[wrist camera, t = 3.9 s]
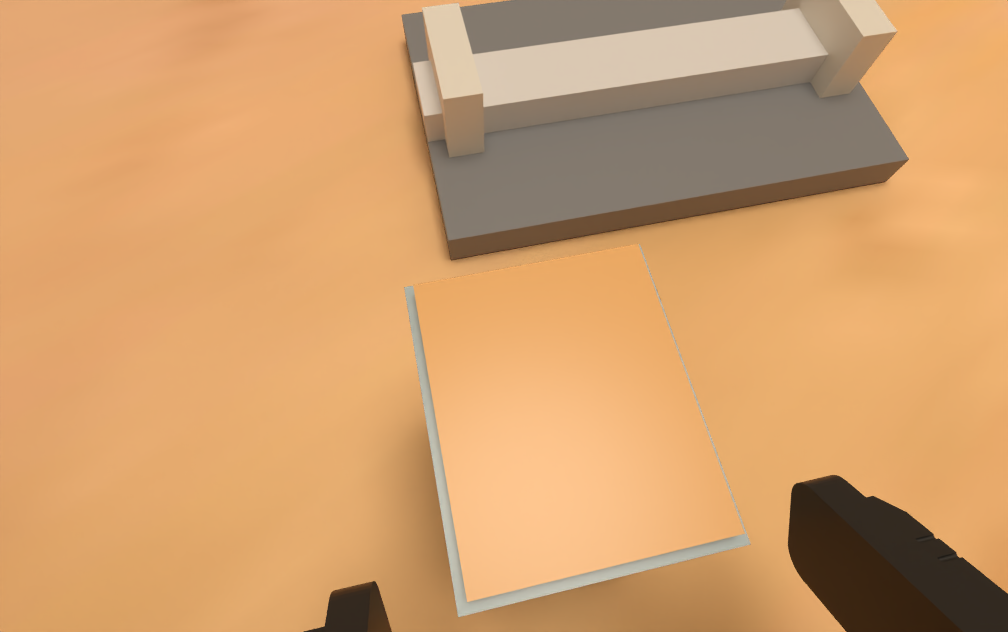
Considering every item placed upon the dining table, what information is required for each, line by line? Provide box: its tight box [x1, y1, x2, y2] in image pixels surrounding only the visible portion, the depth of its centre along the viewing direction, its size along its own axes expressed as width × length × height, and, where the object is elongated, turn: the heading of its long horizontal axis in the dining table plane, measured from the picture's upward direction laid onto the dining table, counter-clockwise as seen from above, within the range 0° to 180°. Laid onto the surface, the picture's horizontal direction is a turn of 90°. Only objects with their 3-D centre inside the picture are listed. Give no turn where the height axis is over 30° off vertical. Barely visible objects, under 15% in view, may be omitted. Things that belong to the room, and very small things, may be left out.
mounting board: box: [402, 0, 909, 260], centre depth 24 cm, size 20×13×5 cm, turn 102°
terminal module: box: [404, 244, 750, 617], centre depth 15 cm, size 5×6×10 cm
